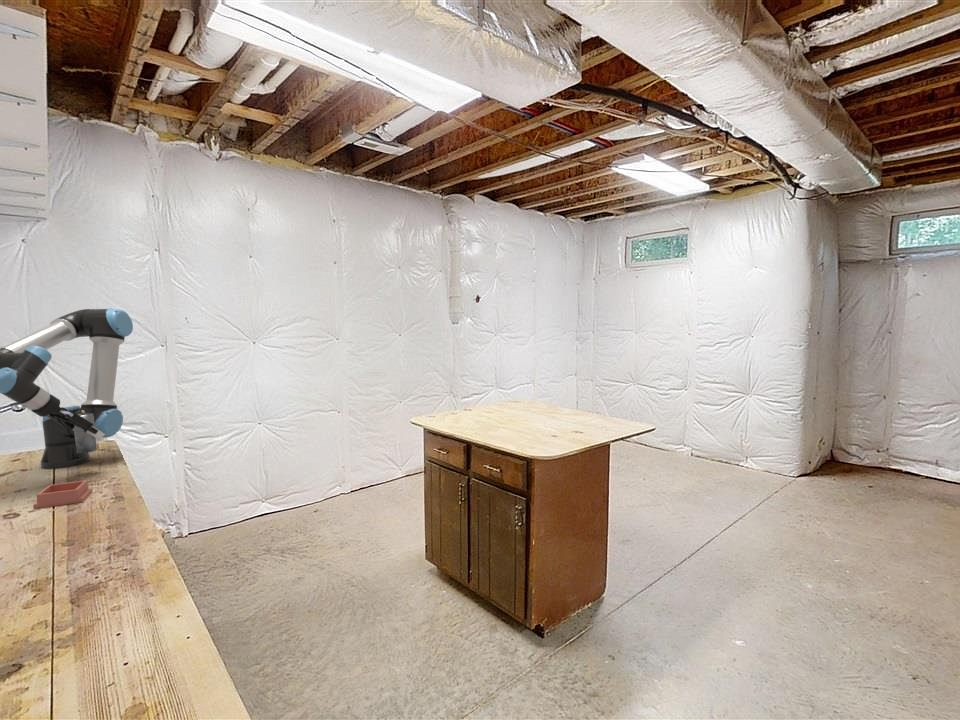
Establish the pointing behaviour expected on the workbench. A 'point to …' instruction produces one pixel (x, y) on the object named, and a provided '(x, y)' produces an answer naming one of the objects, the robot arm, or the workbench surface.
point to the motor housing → (85, 436)
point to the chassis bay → (63, 494)
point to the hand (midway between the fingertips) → (96, 436)
